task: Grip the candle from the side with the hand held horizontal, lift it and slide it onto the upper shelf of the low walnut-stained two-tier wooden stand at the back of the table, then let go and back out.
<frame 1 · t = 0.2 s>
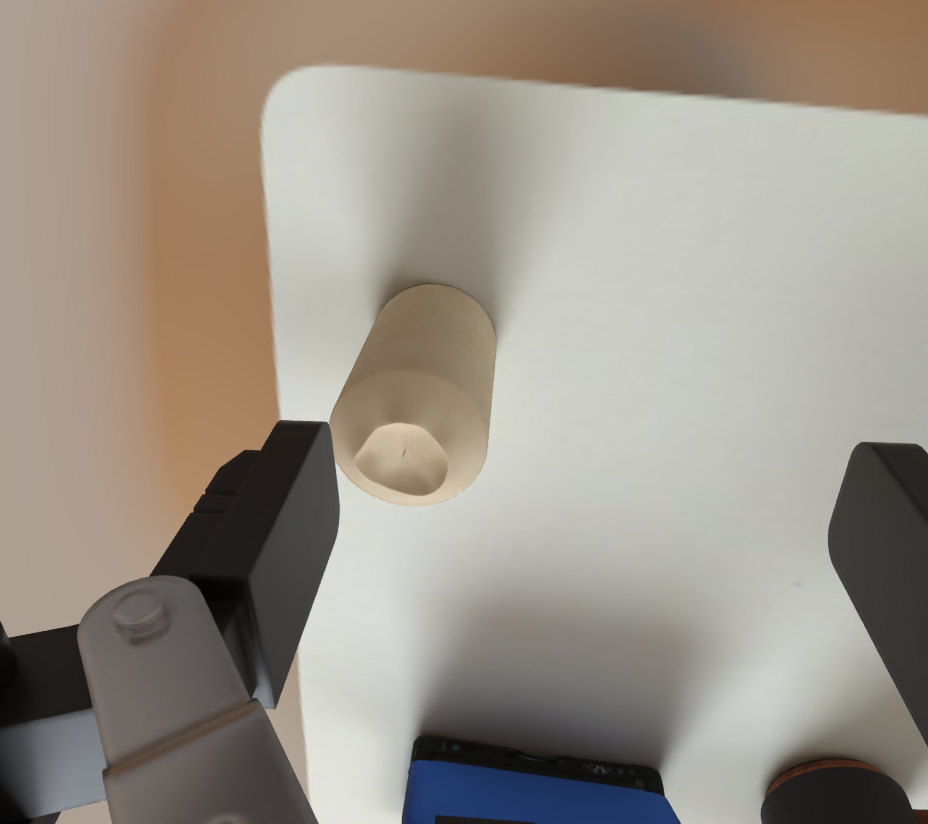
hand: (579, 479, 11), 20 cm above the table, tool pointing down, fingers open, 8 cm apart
candle: (435, 339, 33), on the table
game console: (531, 769, 47), on the table
mug: (854, 788, 45), on the table
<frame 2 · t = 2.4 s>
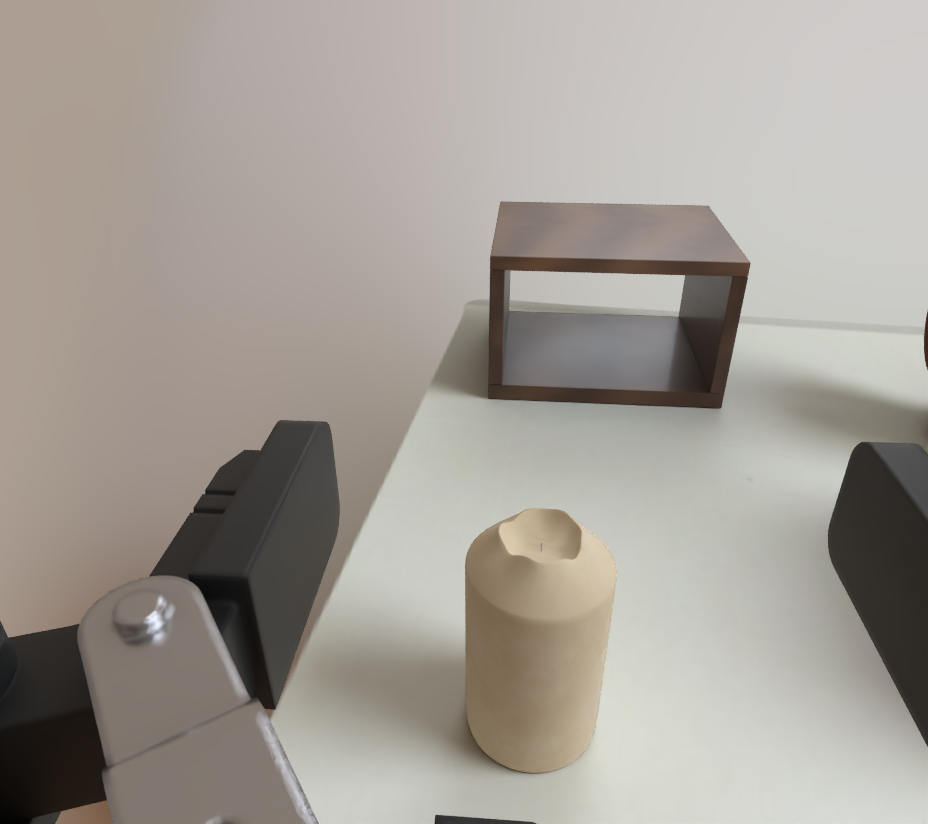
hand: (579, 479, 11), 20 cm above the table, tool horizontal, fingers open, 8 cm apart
candle: (530, 717, 31), on the table
shelf: (597, 360, 60), on the table
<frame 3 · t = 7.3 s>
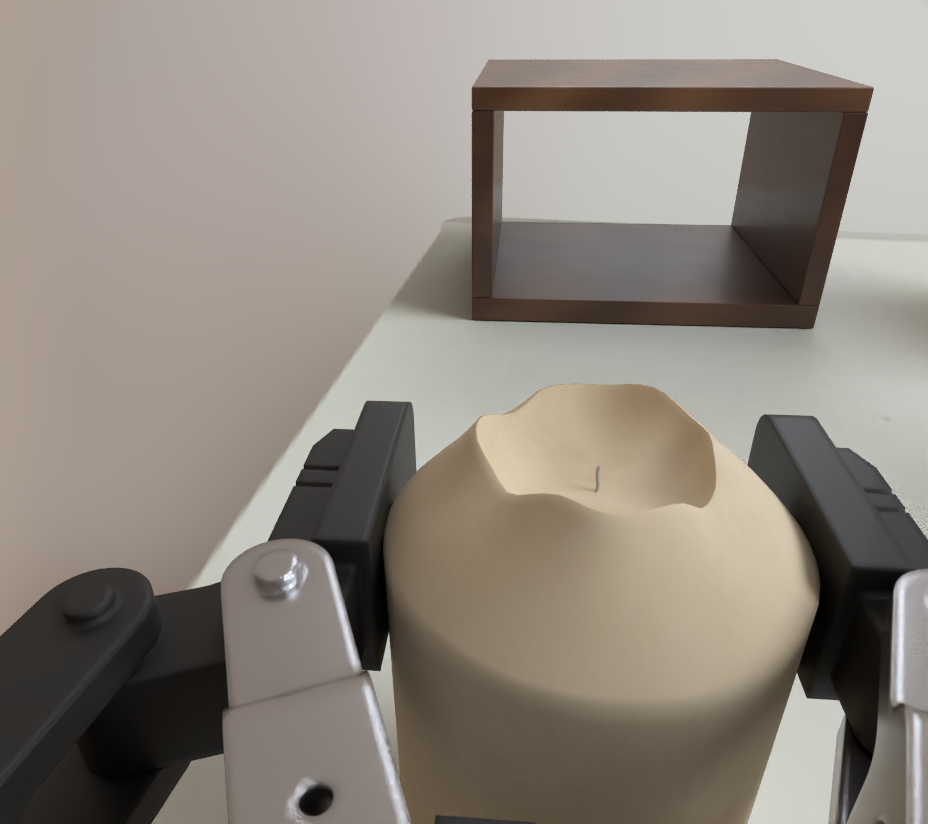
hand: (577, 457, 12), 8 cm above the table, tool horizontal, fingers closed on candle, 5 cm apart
shelf: (624, 276, 43), on the table
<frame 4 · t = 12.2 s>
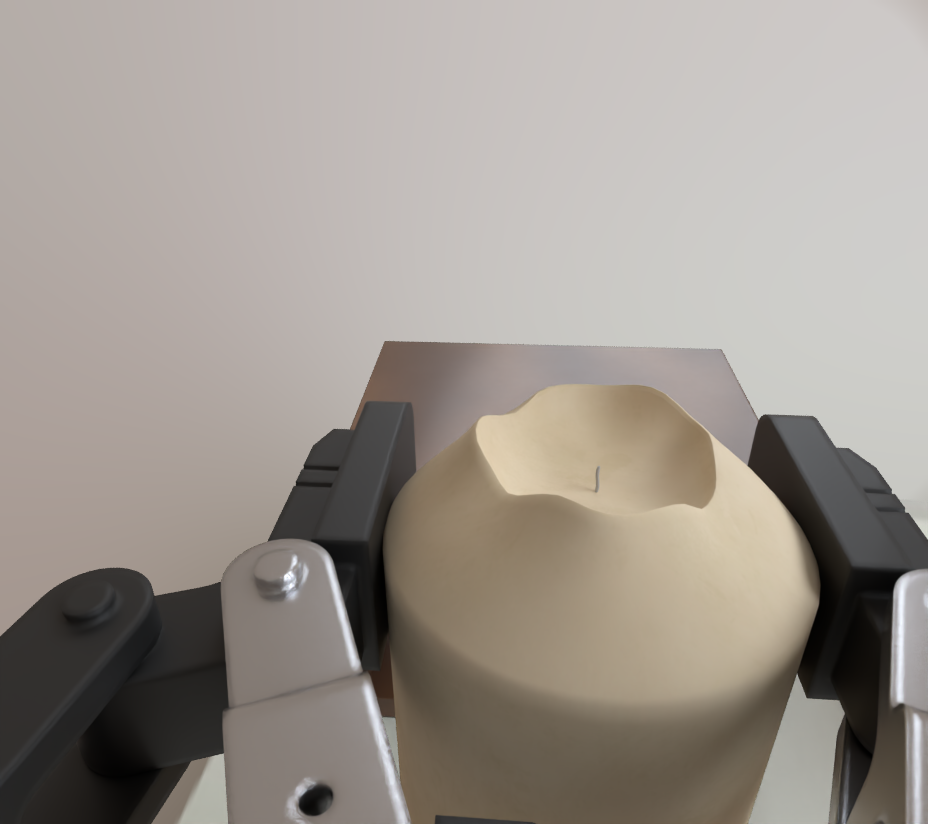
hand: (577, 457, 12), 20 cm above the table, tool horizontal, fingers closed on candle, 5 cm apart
shelf: (542, 603, 36), on the table
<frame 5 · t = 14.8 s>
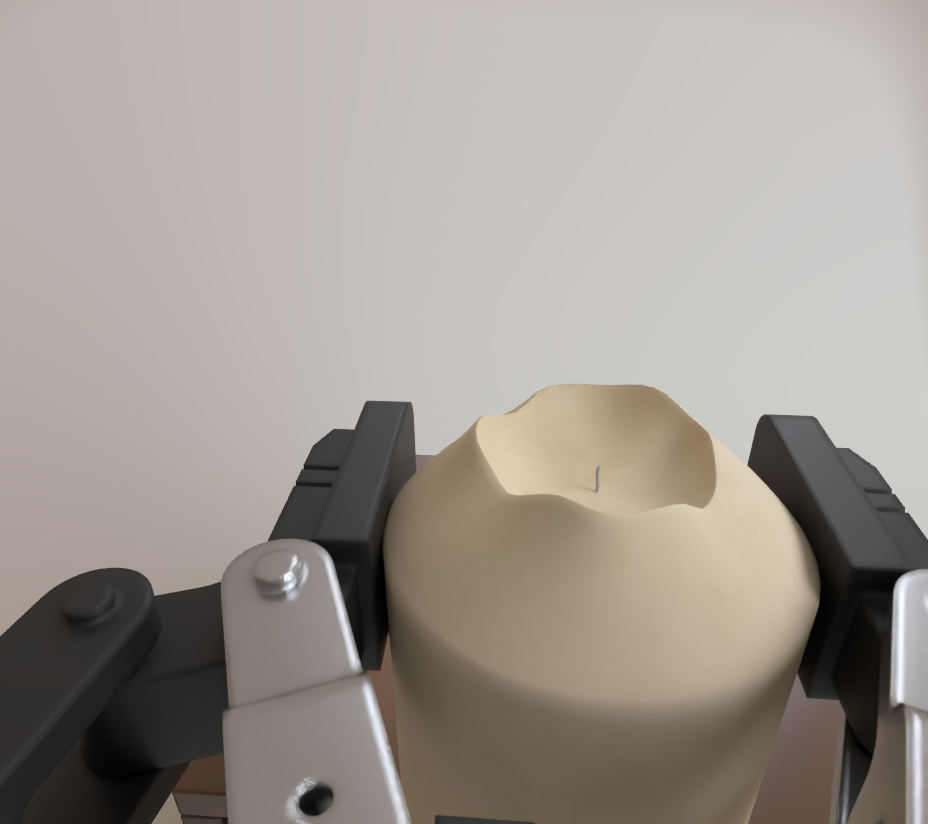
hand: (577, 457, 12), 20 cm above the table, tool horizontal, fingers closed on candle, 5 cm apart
shelf: (526, 801, 28), on the table
when the fingers open (19 cm above the table, at t = 17.0 s): candle stays where it is, resting on shelf.
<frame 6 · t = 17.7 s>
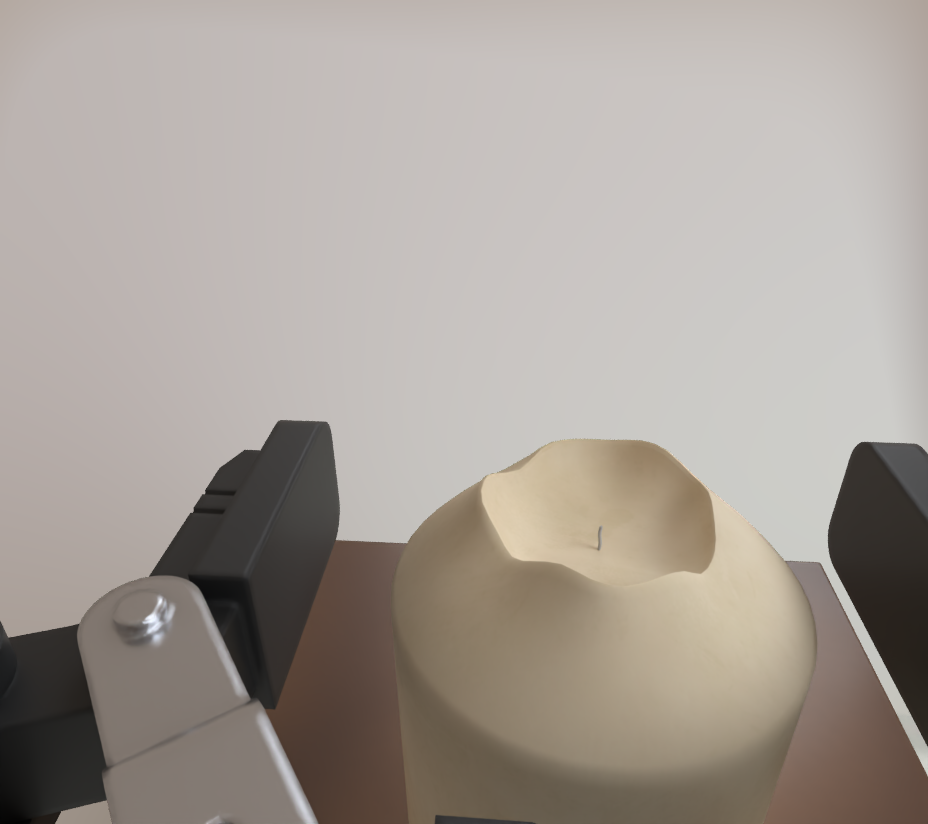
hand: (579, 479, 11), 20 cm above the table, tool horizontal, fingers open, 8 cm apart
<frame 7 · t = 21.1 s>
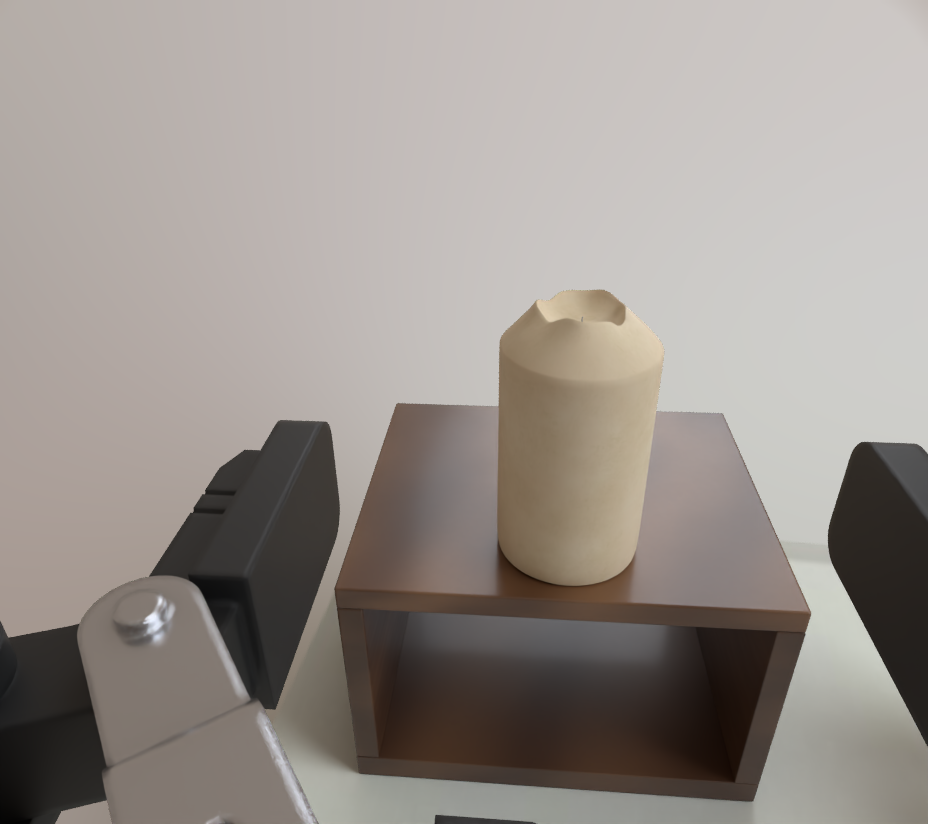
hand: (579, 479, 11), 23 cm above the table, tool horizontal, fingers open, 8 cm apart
candle: (565, 543, 29), point 11 cm above the table, touching shelf
shelf: (549, 659, 38), on the table
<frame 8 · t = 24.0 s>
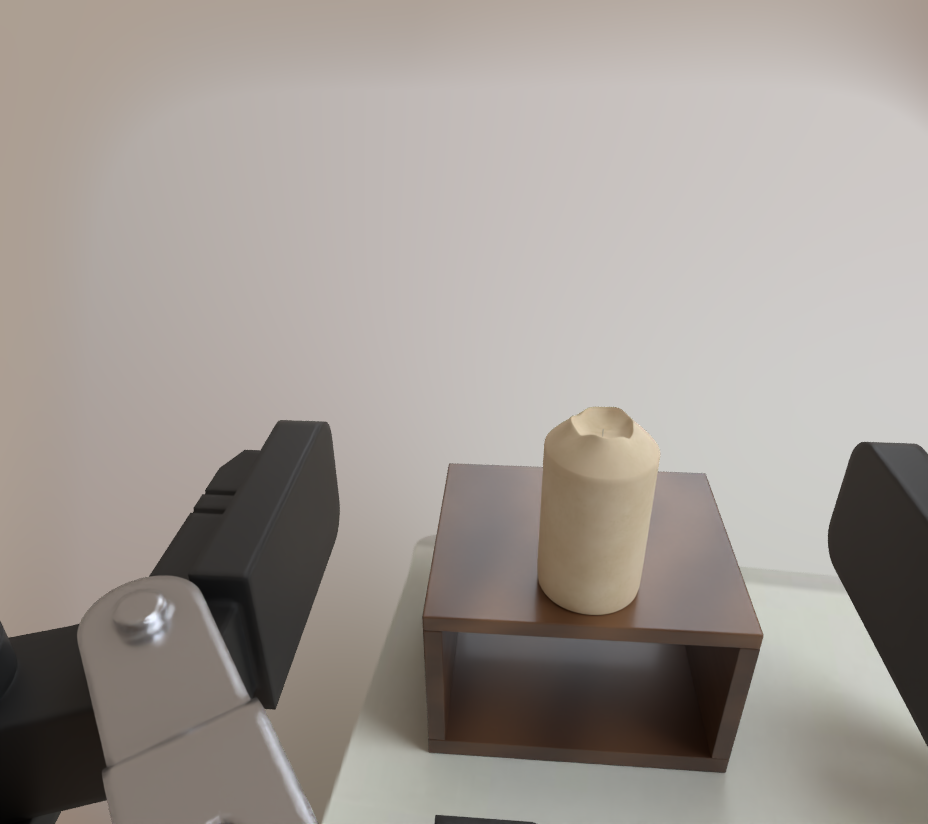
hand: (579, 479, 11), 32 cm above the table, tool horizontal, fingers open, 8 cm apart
candle: (587, 581, 39), point 11 cm above the table, touching shelf
shelf: (569, 665, 48), on the table
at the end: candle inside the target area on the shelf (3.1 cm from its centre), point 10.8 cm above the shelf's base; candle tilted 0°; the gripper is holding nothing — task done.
